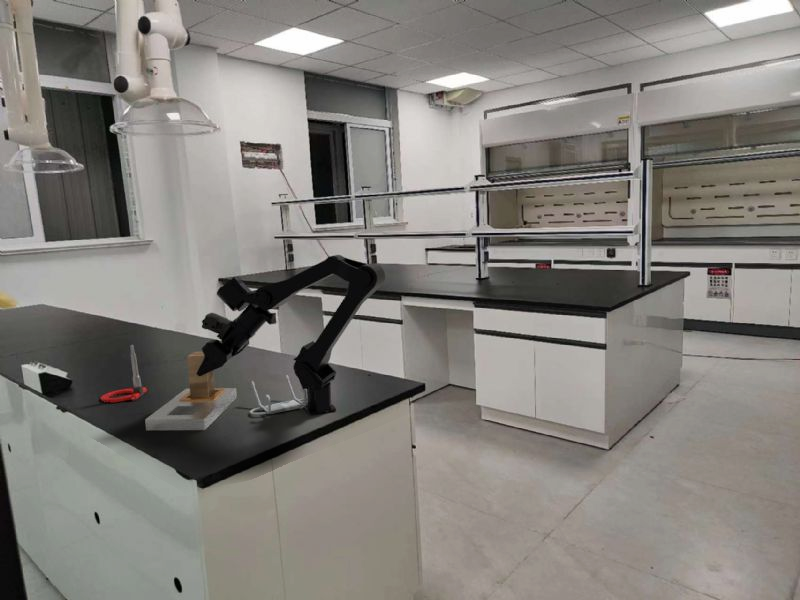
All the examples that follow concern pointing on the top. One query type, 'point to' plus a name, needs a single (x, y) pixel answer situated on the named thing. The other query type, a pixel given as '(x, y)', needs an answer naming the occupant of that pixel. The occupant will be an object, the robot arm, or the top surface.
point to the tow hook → (136, 391)
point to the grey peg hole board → (191, 411)
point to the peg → (199, 378)
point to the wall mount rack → (279, 406)
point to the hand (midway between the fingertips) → (205, 369)
